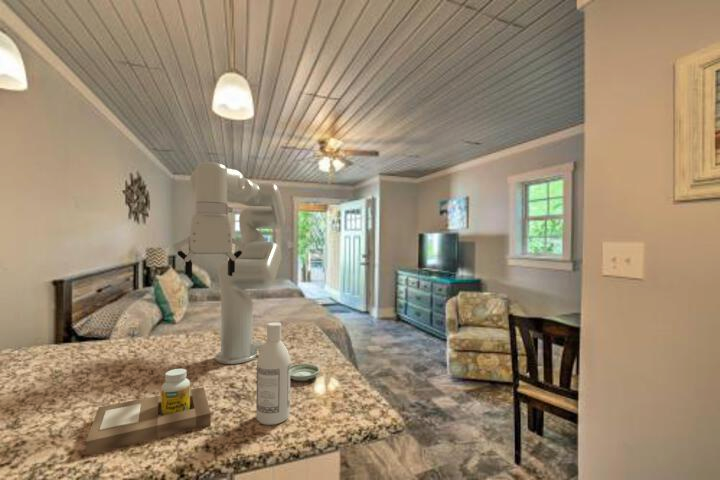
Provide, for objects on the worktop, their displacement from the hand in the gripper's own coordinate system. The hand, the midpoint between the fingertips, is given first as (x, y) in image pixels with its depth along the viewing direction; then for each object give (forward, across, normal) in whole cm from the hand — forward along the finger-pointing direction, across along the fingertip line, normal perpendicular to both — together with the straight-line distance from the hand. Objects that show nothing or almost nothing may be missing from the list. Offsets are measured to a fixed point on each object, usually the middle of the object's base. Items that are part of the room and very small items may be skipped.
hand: (210, 276), depth 88 cm
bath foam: (+28, -10, +24) cm, 39 cm away
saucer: (+29, -23, +7) cm, 37 cm away
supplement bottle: (+28, +8, +14) cm, 33 cm away
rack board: (+28, +12, +14) cm, 34 cm away
